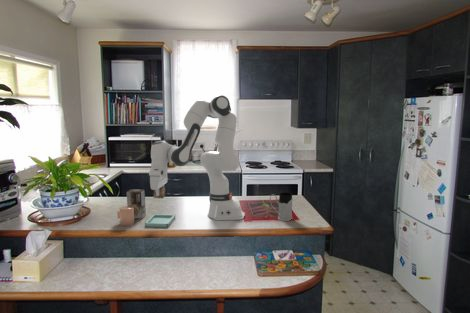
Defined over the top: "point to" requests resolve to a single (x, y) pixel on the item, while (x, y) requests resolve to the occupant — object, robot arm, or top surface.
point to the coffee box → (137, 202)
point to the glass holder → (284, 206)
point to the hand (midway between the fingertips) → (159, 194)
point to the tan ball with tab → (126, 215)
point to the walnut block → (162, 193)
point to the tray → (160, 220)
